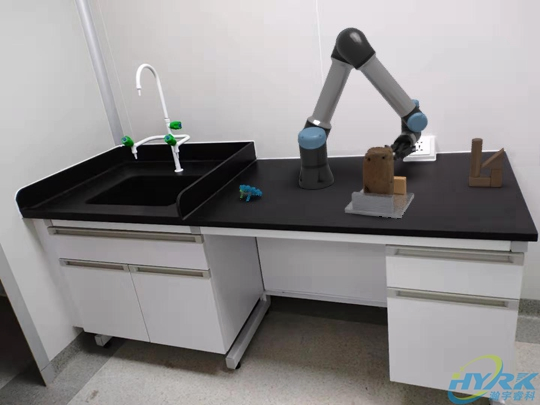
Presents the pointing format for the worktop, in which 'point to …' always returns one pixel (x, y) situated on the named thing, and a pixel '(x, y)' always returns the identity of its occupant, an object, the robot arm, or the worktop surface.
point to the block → (378, 171)
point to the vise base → (397, 206)
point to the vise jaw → (400, 185)
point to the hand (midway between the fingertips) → (388, 161)
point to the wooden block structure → (485, 166)
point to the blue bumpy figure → (249, 191)
